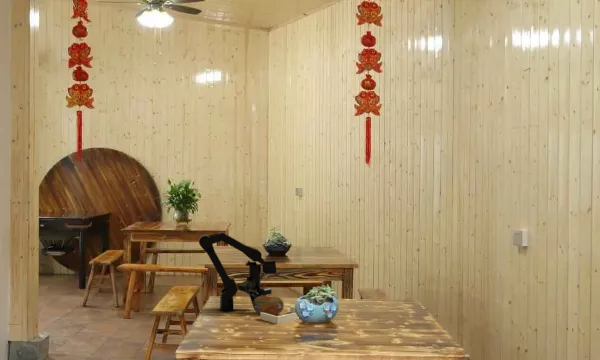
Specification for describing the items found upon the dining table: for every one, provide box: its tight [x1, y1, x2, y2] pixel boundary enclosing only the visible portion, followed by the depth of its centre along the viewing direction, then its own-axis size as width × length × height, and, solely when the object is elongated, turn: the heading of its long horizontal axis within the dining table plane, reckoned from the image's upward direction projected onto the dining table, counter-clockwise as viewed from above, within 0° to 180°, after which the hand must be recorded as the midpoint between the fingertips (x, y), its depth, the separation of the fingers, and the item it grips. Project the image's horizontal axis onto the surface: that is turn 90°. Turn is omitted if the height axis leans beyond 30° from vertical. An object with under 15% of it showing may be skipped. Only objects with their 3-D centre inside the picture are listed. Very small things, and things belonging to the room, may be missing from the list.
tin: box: [252, 295, 285, 316], centre depth 277 cm, size 15×3×8 cm, turn 73°
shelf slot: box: [259, 305, 300, 325], centre depth 269 cm, size 12×20×3 cm, turn 136°
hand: (254, 306), depth 284 cm, fingers closed
